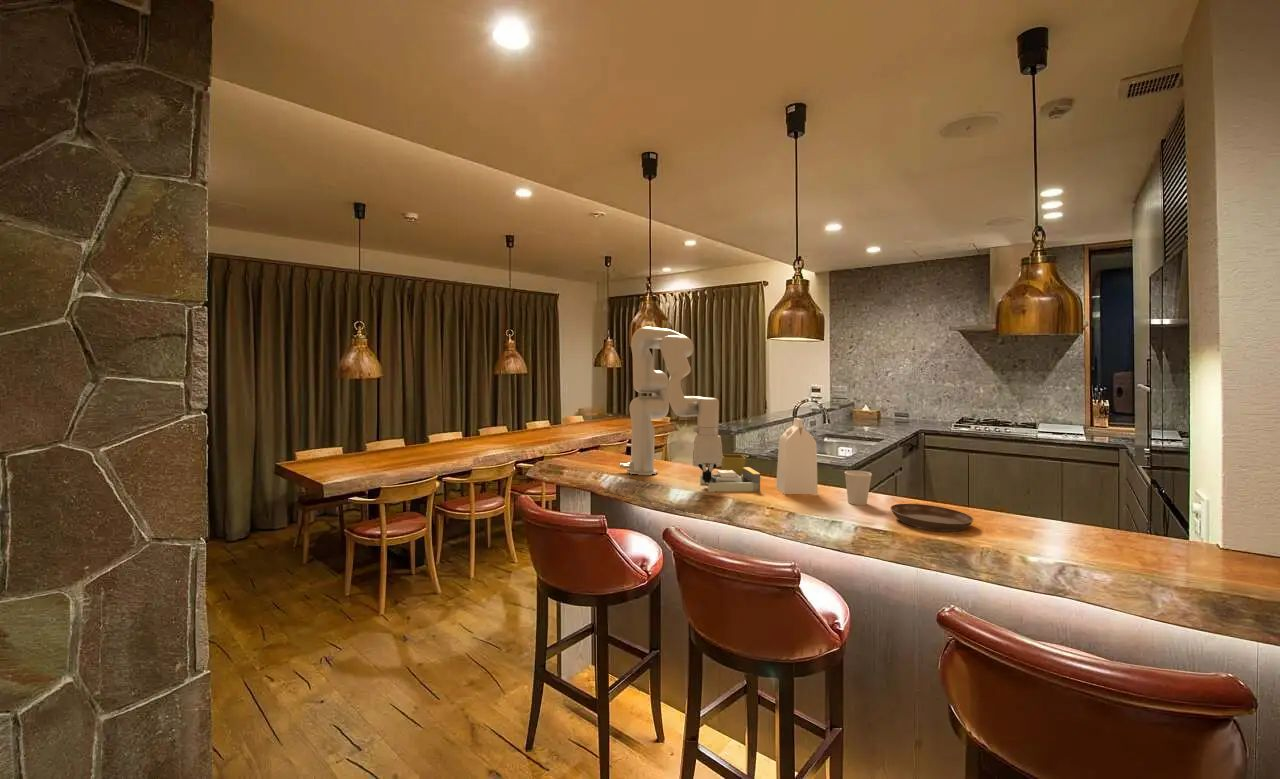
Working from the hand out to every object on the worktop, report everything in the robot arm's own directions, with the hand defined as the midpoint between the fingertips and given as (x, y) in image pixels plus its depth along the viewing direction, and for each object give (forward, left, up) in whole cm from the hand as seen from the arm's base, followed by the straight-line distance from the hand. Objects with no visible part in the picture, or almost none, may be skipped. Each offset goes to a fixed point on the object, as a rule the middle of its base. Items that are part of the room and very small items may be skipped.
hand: (706, 482), depth 191 cm
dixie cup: (+45, -24, -2) cm, 51 cm away
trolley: (+7, 0, -2) cm, 8 cm away
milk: (+31, -6, -2) cm, 32 cm away
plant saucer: (+54, -47, -3) cm, 72 cm away
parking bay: (+8, 0, -2) cm, 9 cm away
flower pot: (+14, +17, -2) cm, 22 cm away
